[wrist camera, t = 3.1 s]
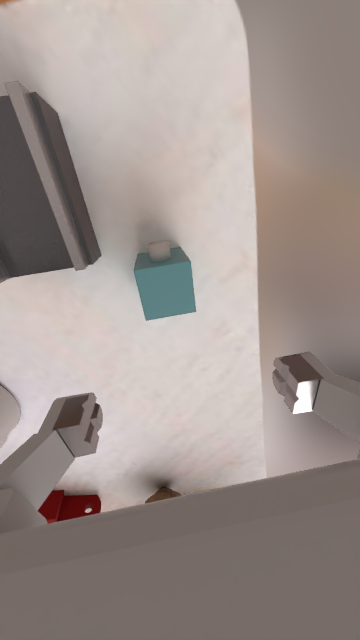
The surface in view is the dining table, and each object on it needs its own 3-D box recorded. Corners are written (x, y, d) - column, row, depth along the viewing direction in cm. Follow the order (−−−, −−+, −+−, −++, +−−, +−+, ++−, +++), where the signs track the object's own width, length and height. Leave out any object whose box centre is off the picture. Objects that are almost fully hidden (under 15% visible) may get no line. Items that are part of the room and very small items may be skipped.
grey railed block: (-8, 273, 24) (-49, 291, 19) (-89, 132, 18) (-179, 105, 13) (101, 255, 24) (89, 268, 19) (57, 113, 18) (24, 80, 13)
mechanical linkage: (25, 507, 47) (13, 538, 43) (22, 490, 44) (8, 521, 39) (101, 503, 50) (97, 532, 46) (103, 487, 47) (98, 516, 43)
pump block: (146, 294, 27) (145, 320, 21) (134, 240, 24) (129, 252, 18) (185, 287, 27) (196, 311, 21) (178, 233, 24) (188, 243, 18)
